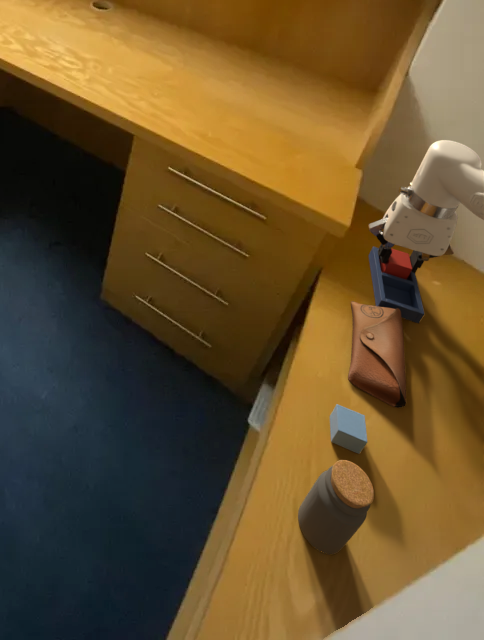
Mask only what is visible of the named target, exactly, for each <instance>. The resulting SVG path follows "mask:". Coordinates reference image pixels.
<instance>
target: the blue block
mask: <svg viewBox="0 0 484 640" xmlns="http://www.w3.org/2000/svg"><path fill="white" fill-rule="evenodd" d="M366 423H367V422H366V415H365V414H362V413H360V412H358V411H355V410H352V409H350V408H348V407H345V406H343V405H340V404H338V403H336V404H335V406H334V408H333V409H332V411H331V413H330V415H329V431H330V432H329V433H330V442H331V443H333V444H335V445H337V446H339V447H342V448H344V449H346V450H349V451H350V452H354V453H355V454H358V455H360V454H361V453H362V451H363V449H364V448H365V447H366V446H367V444H368V433H367V425H366Z"/></svg>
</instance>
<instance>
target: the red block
mask: <svg viewBox="0 0 484 640" xmlns="http://www.w3.org/2000/svg"><path fill="white" fill-rule="evenodd" d="M391 249H392V253H391V255H390V257H389V259H388V261H387V263H385V264H383V263H381V267H382V272H383V273H387V274H390V275H393V276H396V277H399V278H403V279H407V278H408V276H409V274H410V272H411V271H412V266H411V261H410V253H408V252H405V251H401V250H398V249H395V248H391ZM380 262H381V259H380Z"/></svg>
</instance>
